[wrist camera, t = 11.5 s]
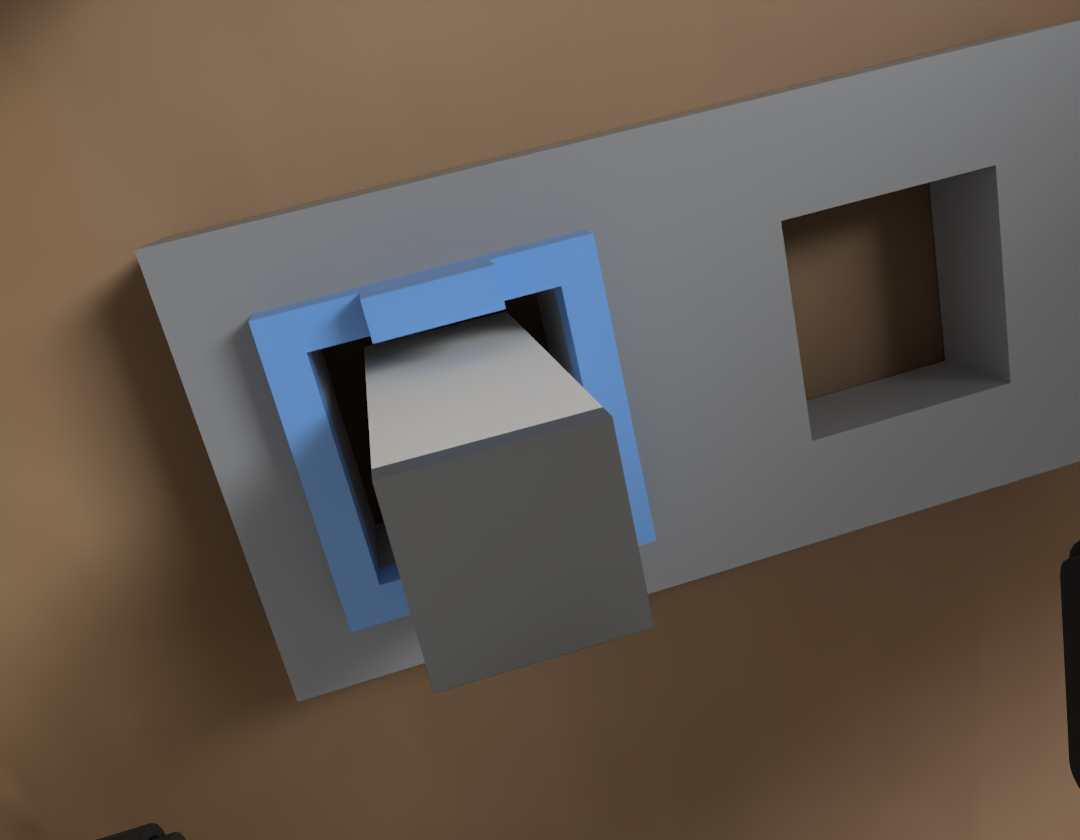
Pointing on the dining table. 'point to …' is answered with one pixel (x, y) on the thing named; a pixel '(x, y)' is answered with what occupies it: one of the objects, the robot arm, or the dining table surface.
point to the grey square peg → (500, 500)
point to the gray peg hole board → (655, 326)
